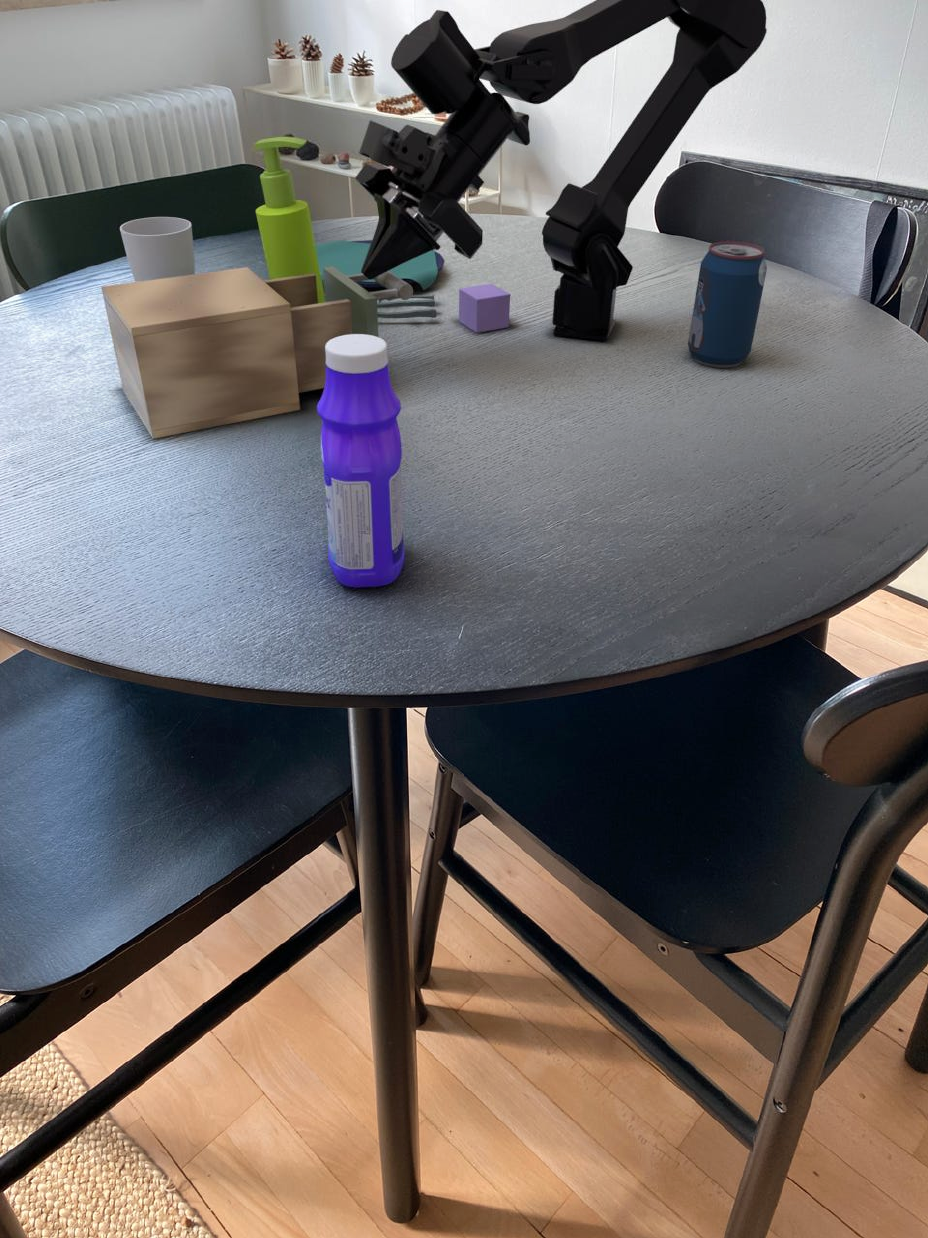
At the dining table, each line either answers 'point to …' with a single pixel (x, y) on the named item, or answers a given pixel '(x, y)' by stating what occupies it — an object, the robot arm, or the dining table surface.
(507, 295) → the lavender cube block
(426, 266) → the cutlery set
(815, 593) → the dining table surface
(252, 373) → the wooden drawer box
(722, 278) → the soda can
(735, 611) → the dining table surface
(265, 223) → the soap dispenser
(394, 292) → the drawer with grey handle
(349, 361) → the bottle
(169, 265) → the cup
